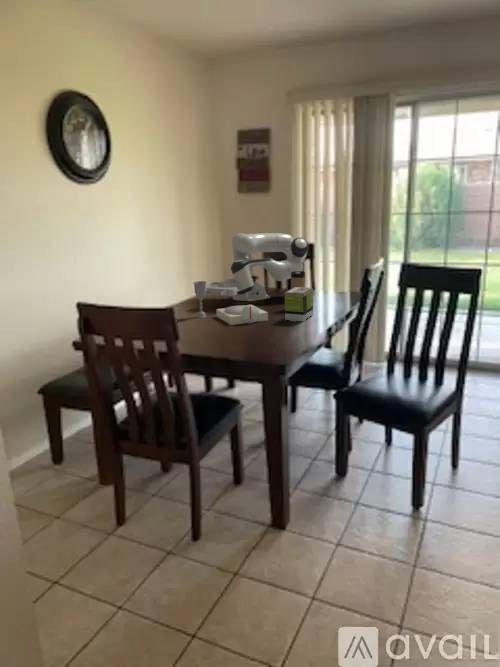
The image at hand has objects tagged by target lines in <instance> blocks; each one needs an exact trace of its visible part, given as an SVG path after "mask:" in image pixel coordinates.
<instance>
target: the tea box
mask: <svg viewBox="0 0 500 667" xmlns="http://www.w3.org/2000/svg"><path fill="white" fill-rule="evenodd" d="M312 315H313V316H314V288H313V287H306V286H305V287H294V288H292V289H291V288H290V289H289V290H287V291H285V292H284V319H285V321H286V320H290V321H289V322H296V321H304V322H306V321H307V320H308V319H310V318H311V317H313V316H312ZM310 316H311V317H310ZM309 317H310V318H309ZM307 318H308V319H307ZM306 319H307V320H306Z"/></svg>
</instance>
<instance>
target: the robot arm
mask: <svg viewBox="0 0 500 667" xmlns="http://www.w3.org/2000/svg"><path fill="white" fill-rule="evenodd" d="M231 243H232V254H233V262H232V264H231V266H230V271H231V273H232V274H233V277H232V278H229V279H226V280H222V281H217V282H214V281H213V282H210V283H209V284H206V293H205V295H214V296H215V295H216V296H218V297H222V298H227V297H230V296H232V300H234V301H239V302H240V301H241V302H242V301H243V302H253V301H254V302H255V301H261V300H267V298H268V299H270V298H271V297H270V295H269V294H267V291H266V288H265V287H264V286H263V285H262V284H260V283H259V282H258V280H259V276H258V275H254V267H262V268H264V269H265V270H266V271H267V273H268V274H269V276H270V277H271V278H273V279H274V280H275V281H277V282H283V281H286V280H289V279H290V280H291V272H294V271H302V272H303V269H304V266H303V264H304V261H305V260H306V257H307V254H308V251H309V246H310V245H309V242H308V240H306V238H303V237H296V238H294V239H293V236H292V235H290V234H289V233H288V234H287V233H279V232H270V233H269V232H264V233H263V232H262V233H261V232H260V233H244V232H239V233H236V234H234V236H233V237H232V241H231ZM274 252H275V253H277V252H278V253H281V252H282V253H283V258H284V259H285V260H281V261H277V260H275V259H274V258H271V257H270V258H269V257H268V258H257V259H253V257H252V254H256V253H258V254H259V253H274Z"/></svg>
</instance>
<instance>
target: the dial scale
mask: <svg viewBox="0 0 500 667" xmlns="http://www.w3.org/2000/svg"><path fill="white" fill-rule="evenodd" d="M216 318H218V319H220V320H222V321H223V322H225V323H227V324H228V325H229V326H233V325H235V326H236V325H241V324H253V323H258V322H265V321H269V312H267V311H266V310H263V309H261V308H259V307H258V306H255V305H254V304H247V305H244V304H242V305H231V306H228V307H225V308H216Z"/></svg>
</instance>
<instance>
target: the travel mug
mask: <svg viewBox="0 0 500 667" xmlns="http://www.w3.org/2000/svg"><path fill="white" fill-rule="evenodd" d="M294 287H305V288H306V272H305V271H303V270H302V271H294V272H291V278H290V289H292V288H294Z"/></svg>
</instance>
